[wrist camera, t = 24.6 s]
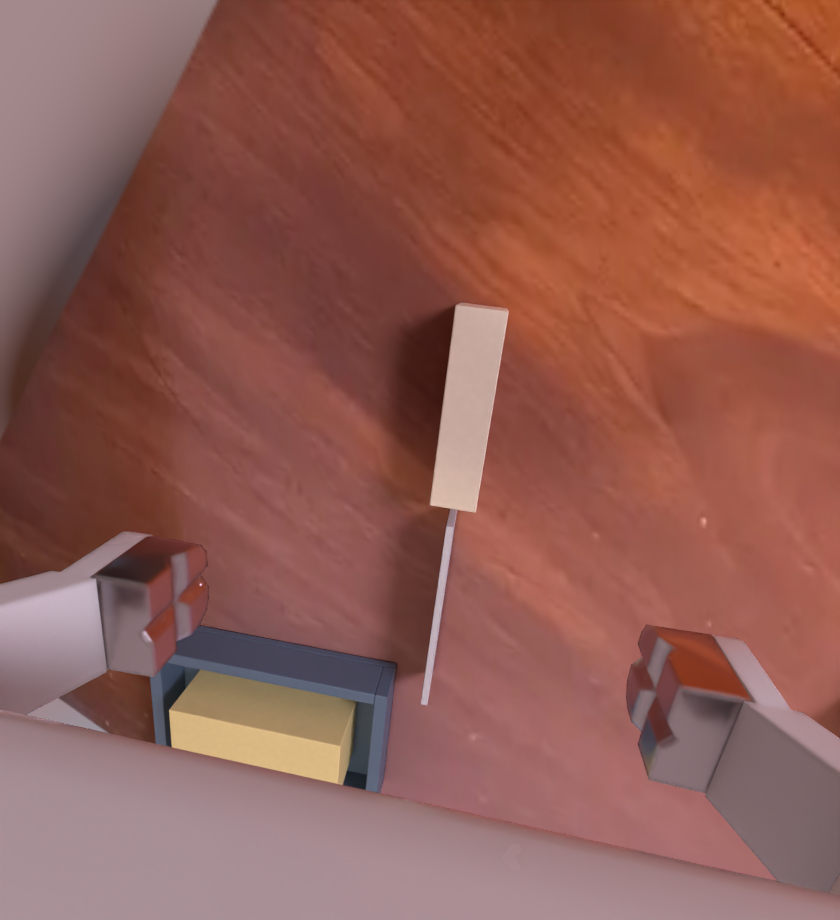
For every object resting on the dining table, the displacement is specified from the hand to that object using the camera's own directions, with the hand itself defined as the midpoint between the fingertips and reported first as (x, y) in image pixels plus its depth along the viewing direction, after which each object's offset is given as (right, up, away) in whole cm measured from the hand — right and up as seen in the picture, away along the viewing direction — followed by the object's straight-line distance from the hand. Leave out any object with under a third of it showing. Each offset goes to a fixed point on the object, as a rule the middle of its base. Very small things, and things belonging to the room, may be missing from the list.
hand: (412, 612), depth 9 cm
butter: (-10, -14, +26) cm, 32 cm away
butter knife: (+2, 0, +20) cm, 20 cm away
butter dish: (-10, -14, +27) cm, 32 cm away
